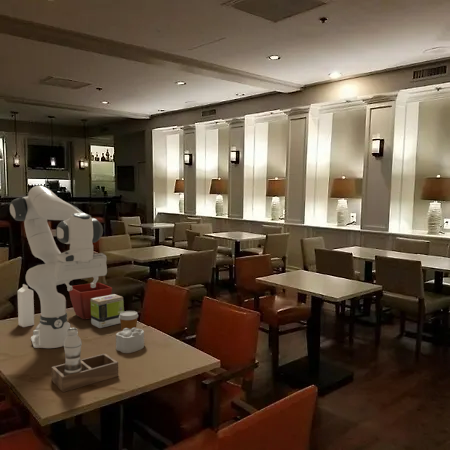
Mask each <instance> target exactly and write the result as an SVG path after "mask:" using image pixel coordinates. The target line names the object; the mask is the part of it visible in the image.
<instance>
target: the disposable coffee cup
mask: <svg viewBox="0 0 450 450" xmlns="http://www.w3.org/2000/svg"><path fill="white" fill-rule="evenodd" d="M119 318H120V323H119V324H120V329H121V331H123V329H124V328H128V329H132V328H137V323H138V318H139V314H138V312H137V311H135V310H126V311H125V310H124V312H121V313H120V315H119Z"/></svg>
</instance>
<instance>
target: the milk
mask: <svg viewBox="0 0 450 450" xmlns="http://www.w3.org/2000/svg"><path fill="white" fill-rule="evenodd" d="M34 301H35V300H34V289H31V288H29V285H28V284H25V283H23V284H22V287H20V288H19V289H18V290H17V312H18V313H17V315H18V317H17V319H18V326H20V327H22V328H26V327H30V326H34V325H35V307H34V306H35V305H34V303H35V302H34Z"/></svg>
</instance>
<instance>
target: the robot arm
mask: <svg viewBox="0 0 450 450" xmlns="http://www.w3.org/2000/svg"><path fill="white" fill-rule="evenodd" d="M9 213H10V215H11V217H12V218H13V219H14V220H15V221H18V222H23V223H24V230H25V234H26V238H27V241H28V245H29V247H30V251H31V254H32V255H33V256H34V258H36V259H37V258H38V259H39V260H41V261H43V263H42V264H37V265H35V266H32V267H30V268H29V269H28V270H27V271H26V274H25V282H26V285H27V286H28V287H30V289H31V290H33V291H35V292H36V293H37V295H38V298H39V301H40V317H39V323H38V324H37V325H36V326H35V329H34V330H32V335H31V337H30V340H31V343H32V346H33V348H35V349H39V348H41V349H55V348H56V349H57V348H61V347H64V341H65V339H66V338H67V336H68V335H67V329H69V328H71V323H69V322H68V314H67V300H66V297H65V295H64V294H62V293H60V292H58V289H57V286H59V285H63V284H64V285H66V287H67V288H66V289H67V291H68V292H69V291H72V290H73V289H72V288H73V286H74V285H70V282H71V281H73V280H80V279H88V278H93V281H92V282H90V283H91V284H90V283H89V284H90V285H91V288H95V287H96V283H98V281H99V277H104V276H107V273H108V266H107V257H108V256H107V255H106V254H105V253H103V252H99V253H96V252H94V244H93V243H97V242H98V241H100V239H101V238H102V236H103V234H104V228H103V225H102V223H101V222H100V221H99V220H98V219H97V218H94V217H92V215H90V214H88V213H85V212H83V211H82V210H81V209H79V208H78V207H77V206H75V205H73V204H71V203H69V202H67V201H65V200H63V199H62V198H60V197H58V195H57V194H56V193H54V192H53V191H52V190H51V189H50V188H47V187H46V186H44V185H35V186H33V187H32V188H30V189H29V191H28V193H27V196H23V197H17V198H15V199H13V200H11V201H10V204H9ZM48 221H60V222H59V223H58V224H57V226H56V228H55V234H56V235H55V236H56V239H57V240H58V241H59V242H60V243H61V244H66V245H69V249H68V250H66V251H64V252H61V251H60V249H59V247H58V245H57V244H56V241H55V239H54V236H53V233H52V231H51V228H50V226H49V223H48Z"/></svg>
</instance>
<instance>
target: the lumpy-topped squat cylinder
mask: <svg viewBox="0 0 450 450" xmlns="http://www.w3.org/2000/svg"><path fill="white" fill-rule="evenodd" d="M144 347H145V331H144V329H142V328H138V327H136V328H132V329H128V328H124V329H123V331H122V330H121V331H118V332H117V333H115V351H118V352H121V353H123V354H131V353H135V352H137V351H141V350H143V348H144Z"/></svg>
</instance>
